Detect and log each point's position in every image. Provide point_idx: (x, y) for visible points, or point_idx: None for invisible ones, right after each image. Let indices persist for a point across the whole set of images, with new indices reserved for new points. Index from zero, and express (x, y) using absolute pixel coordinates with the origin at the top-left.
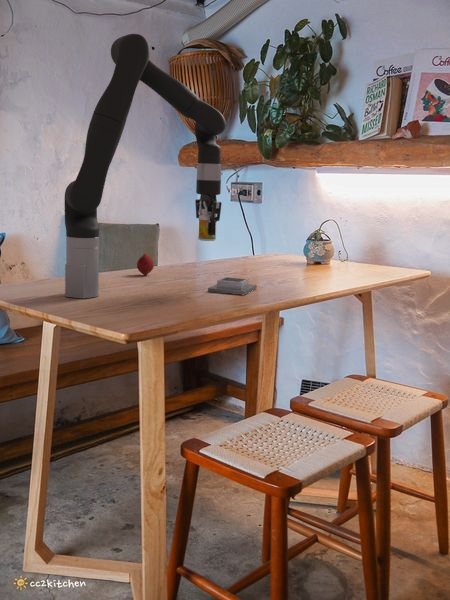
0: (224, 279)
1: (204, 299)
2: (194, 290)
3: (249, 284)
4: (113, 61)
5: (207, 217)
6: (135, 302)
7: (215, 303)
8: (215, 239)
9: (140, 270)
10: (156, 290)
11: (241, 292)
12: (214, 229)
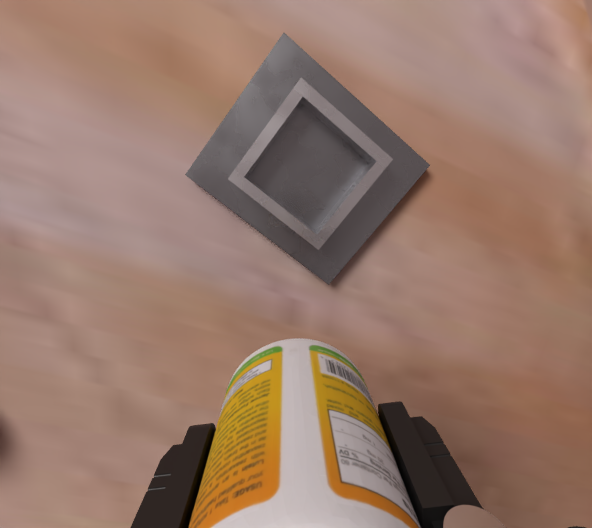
0: (270, 197)
1: (453, 333)
2: (291, 317)
3: (267, 66)
4: None
5: None
6: None
7: (522, 319)
8: (327, 344)
9: None
10: None
11: (418, 176)
12: (444, 452)
